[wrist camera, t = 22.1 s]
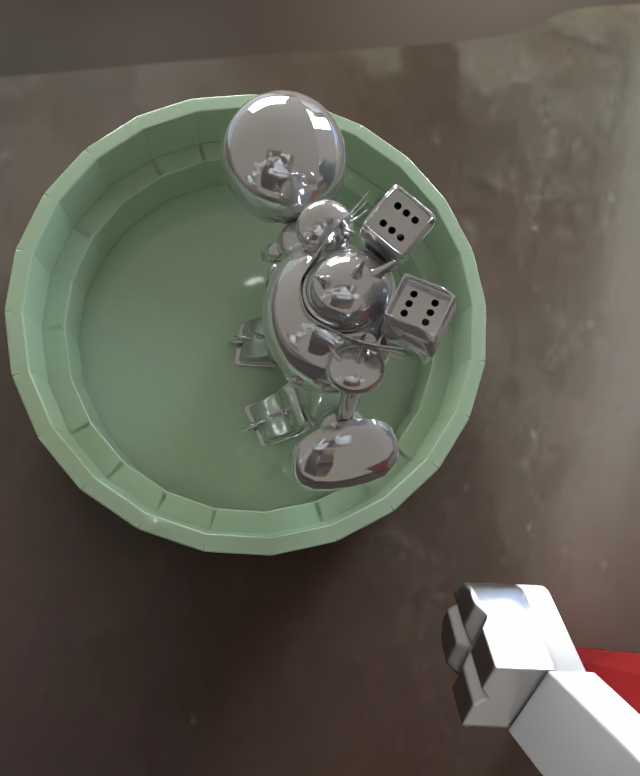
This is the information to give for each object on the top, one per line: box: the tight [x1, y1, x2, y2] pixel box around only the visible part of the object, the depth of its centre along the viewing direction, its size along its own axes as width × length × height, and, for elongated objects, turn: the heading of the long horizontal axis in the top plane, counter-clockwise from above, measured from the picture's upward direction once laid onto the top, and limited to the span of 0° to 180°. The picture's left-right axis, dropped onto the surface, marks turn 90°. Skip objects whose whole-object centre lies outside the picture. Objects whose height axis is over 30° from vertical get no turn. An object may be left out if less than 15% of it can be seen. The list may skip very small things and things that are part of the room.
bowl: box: [5, 94, 486, 556], centre depth 27 cm, size 20×20×6 cm
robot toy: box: [221, 90, 456, 491], centre depth 22 cm, size 15×6×15 cm, turn 12°
